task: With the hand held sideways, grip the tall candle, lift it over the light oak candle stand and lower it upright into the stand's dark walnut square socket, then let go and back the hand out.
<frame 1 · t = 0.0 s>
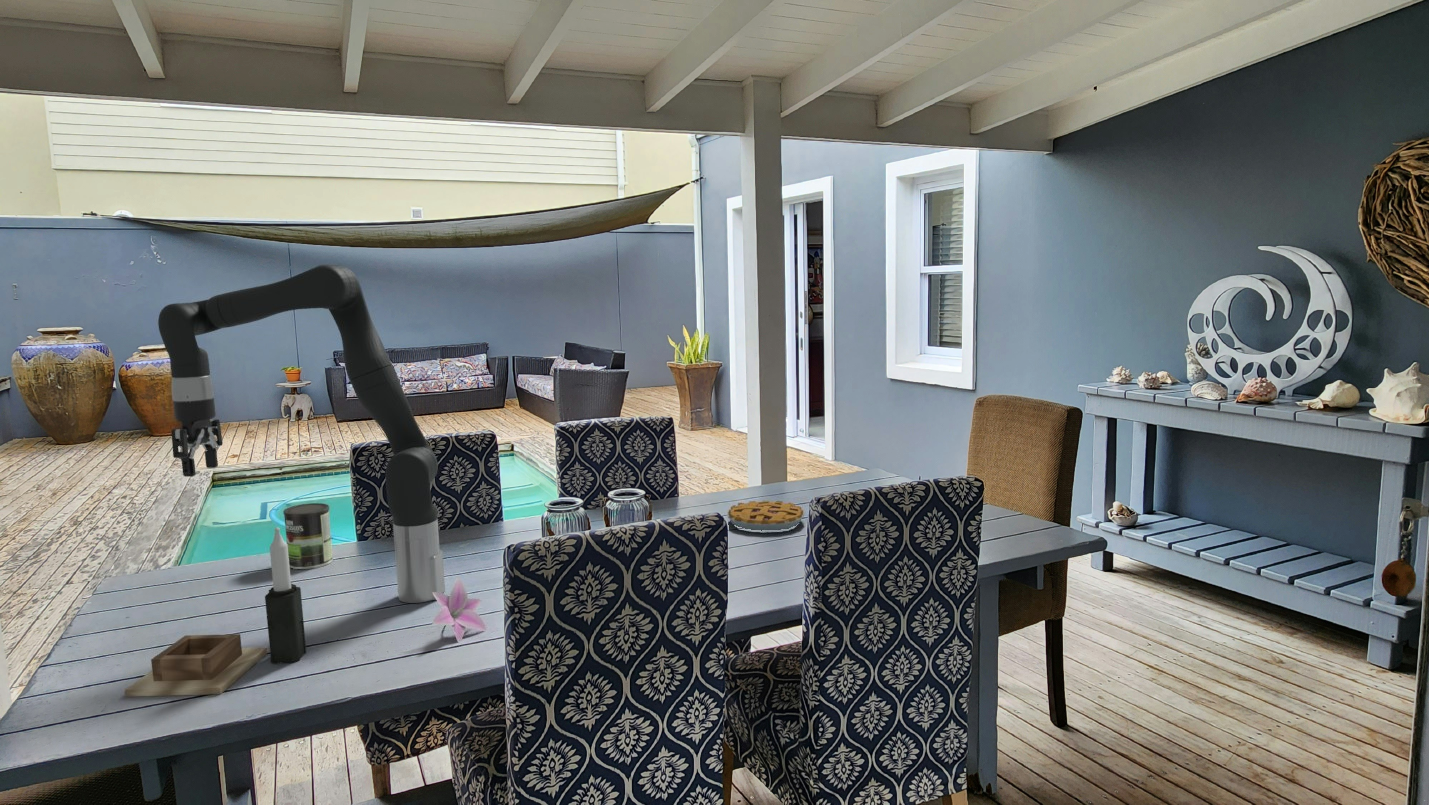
hand: (201, 471, 184), 29 cm above the table, tool pointing down, fingers open, 8 cm apart
candle stand: (200, 673, 153), on the table
coffee can: (311, 563, 213), on the table
pie: (765, 525, 241), on the table
candle: (289, 658, 159), on the table
lily: (458, 634, 169), on the table
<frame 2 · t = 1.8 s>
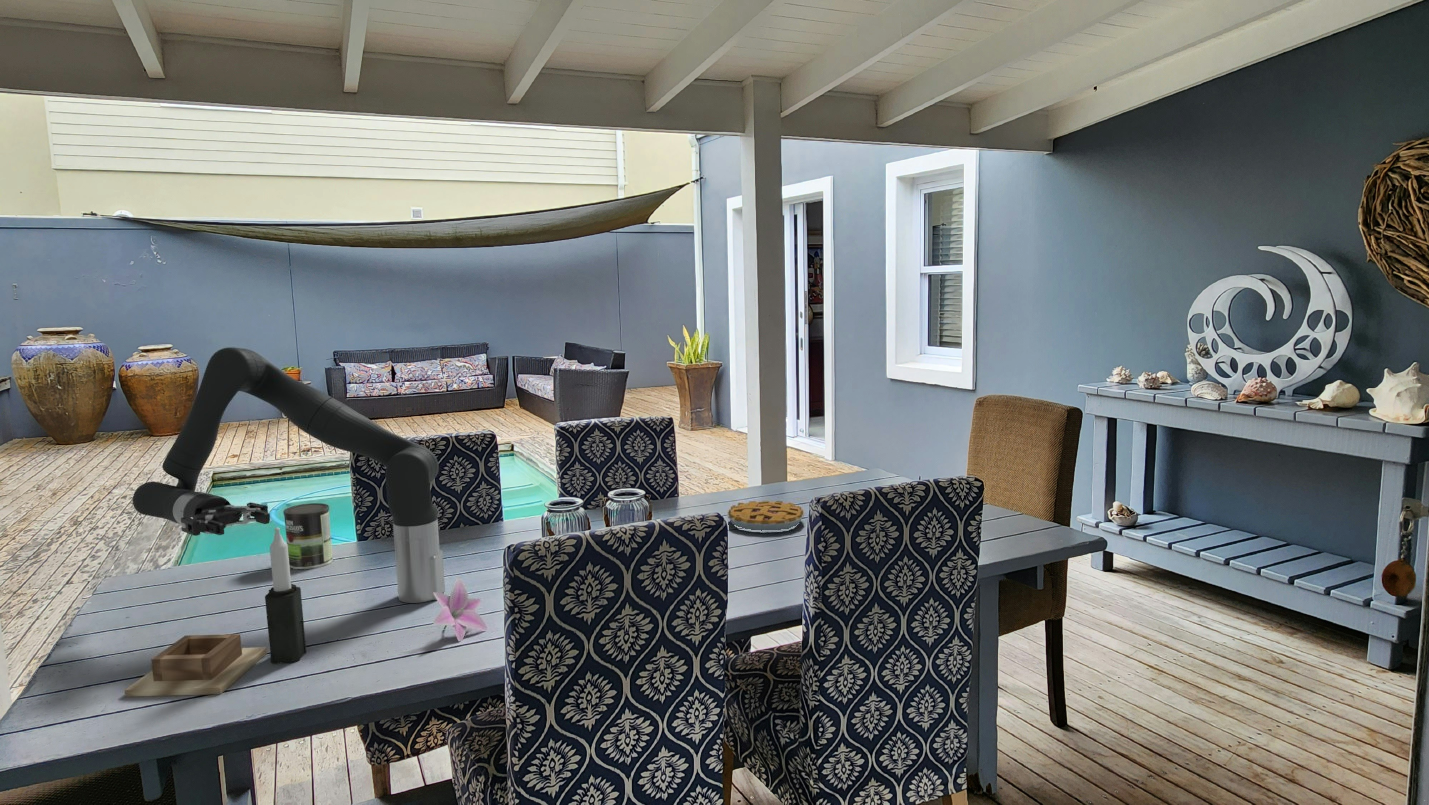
hand: (245, 523, 162), 24 cm above the table, tool horizontal, fingers open, 8 cm apart
nothing on the table moved.
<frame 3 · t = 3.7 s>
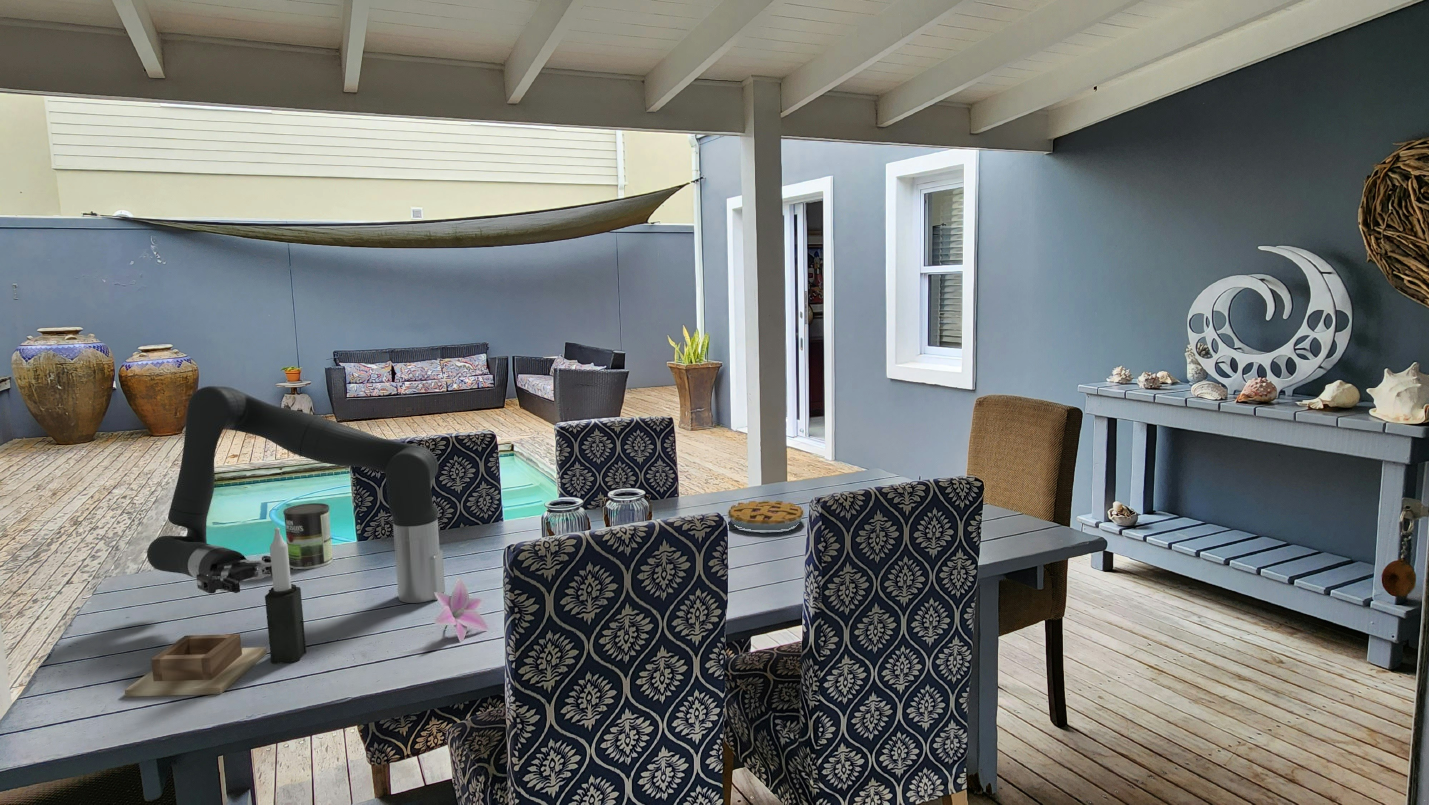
hand: (261, 580, 161), 13 cm above the table, tool horizontal, fingers open, 8 cm apart
nothing on the table moved.
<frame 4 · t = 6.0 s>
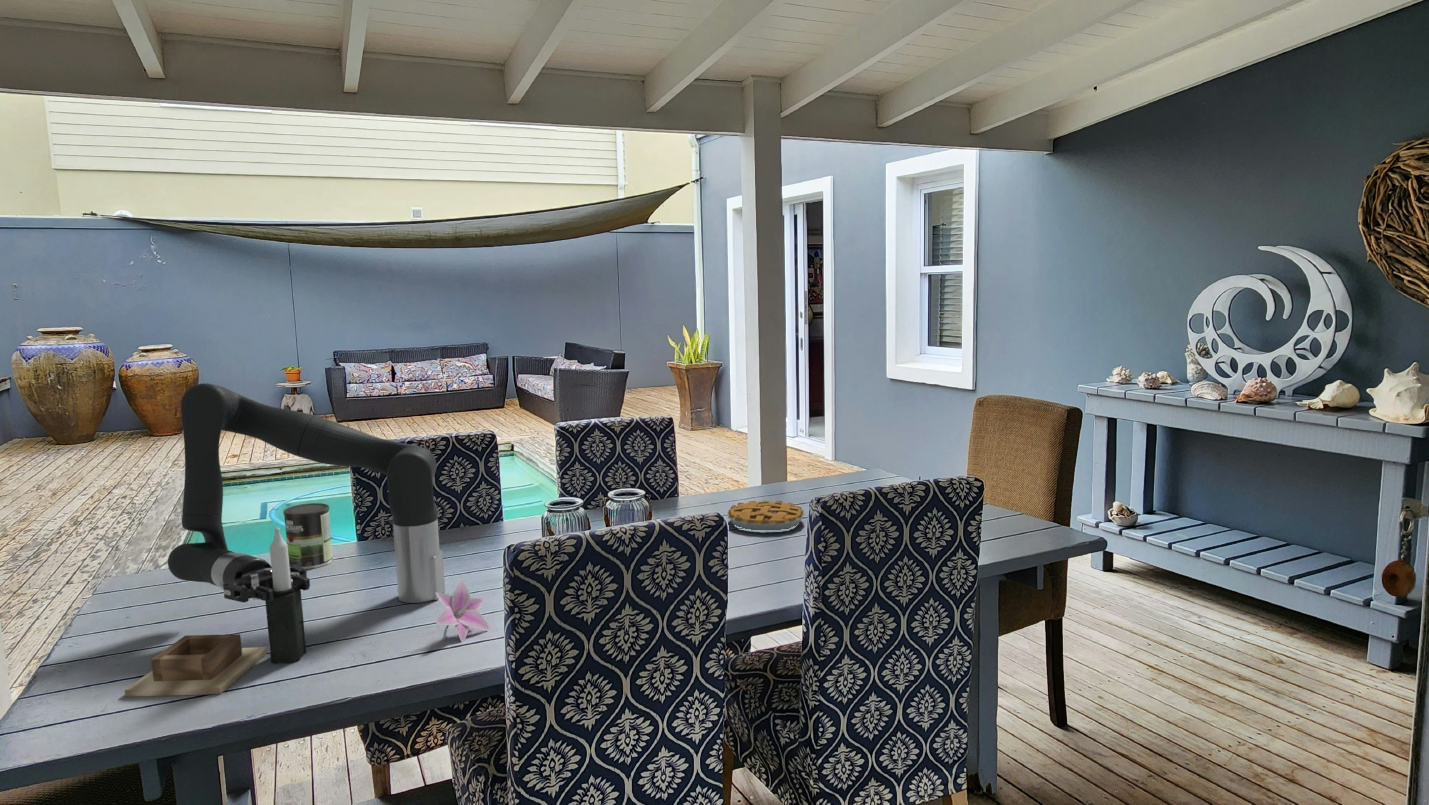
hand: (289, 590, 156), 14 cm above the table, tool horizontal, fingers closed on candle, 6 cm apart
candle: (289, 658, 159), on the table, touching gripper
everything else where it was.
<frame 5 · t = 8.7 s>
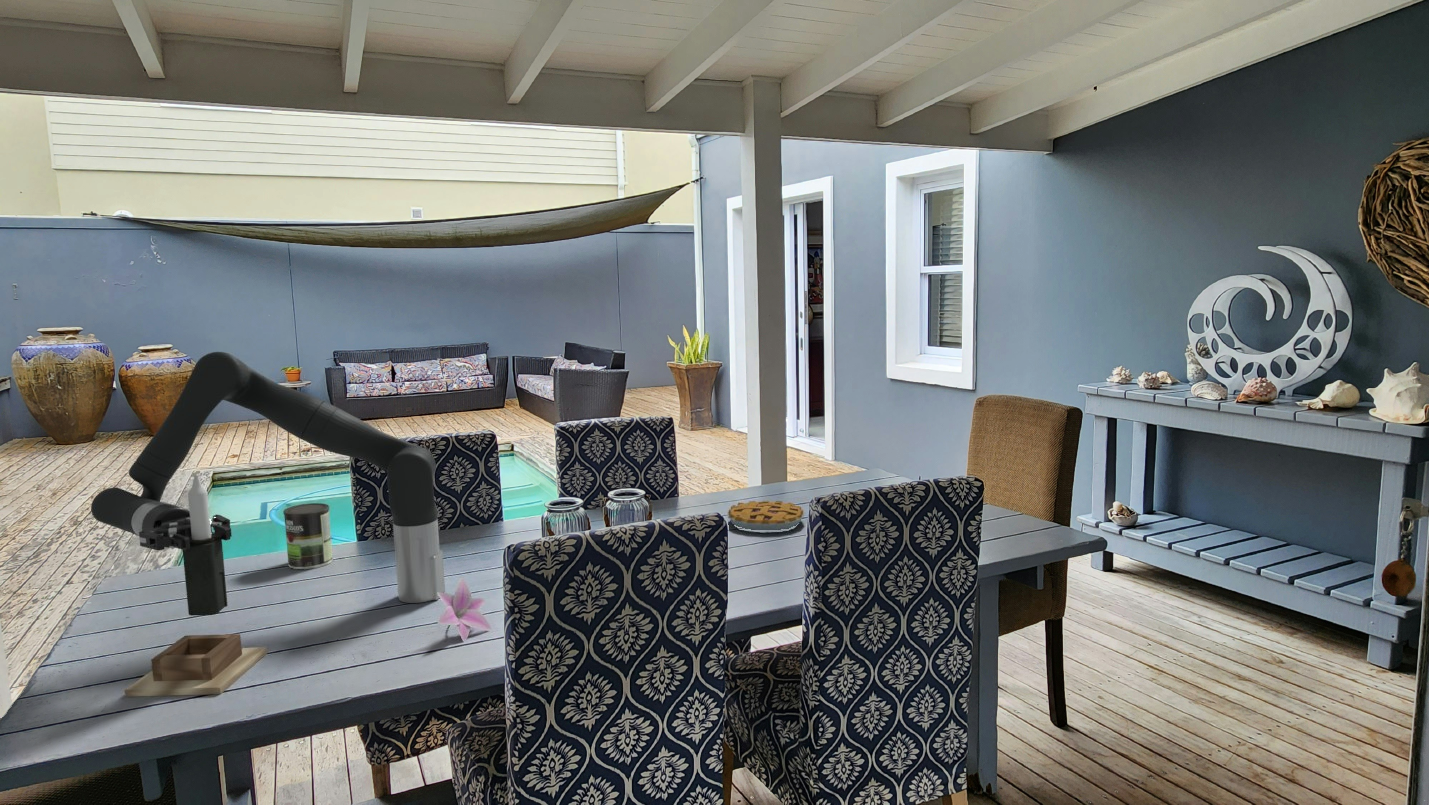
hand: (208, 539, 149), 25 cm above the table, tool horizontal, fingers closed on candle, 6 cm apart
candle: (208, 610, 153), point 11 cm above the table, touching gripper
everything else where it was.
when the fingers open (16 cm above the table, at t = 11.7 s): candle stays where it is, resting on candle stand.
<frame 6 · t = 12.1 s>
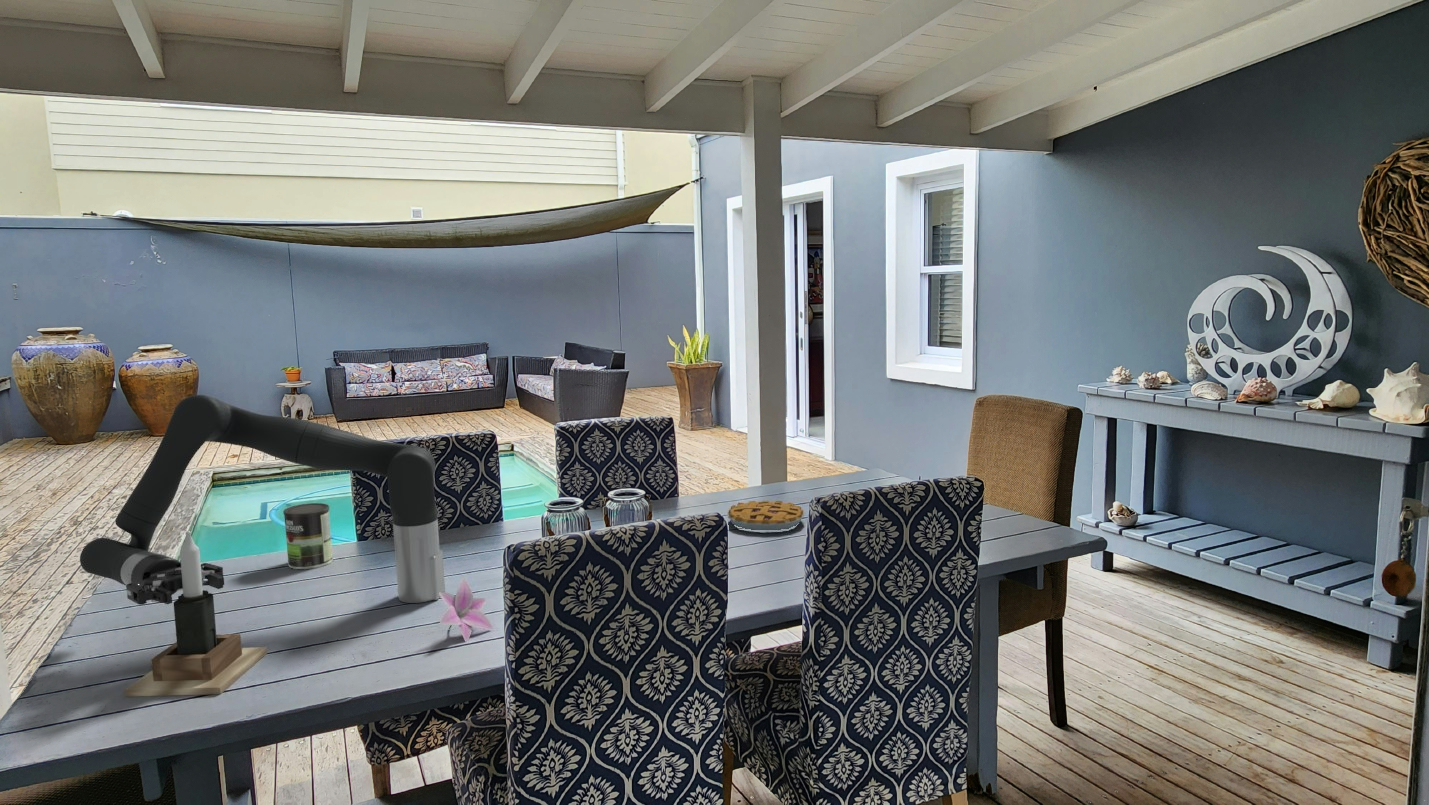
hand: (196, 590, 150), 16 cm above the table, tool horizontal, fingers open, 8 cm apart
candle: (199, 667, 153), point 1 cm above the table, touching candle stand
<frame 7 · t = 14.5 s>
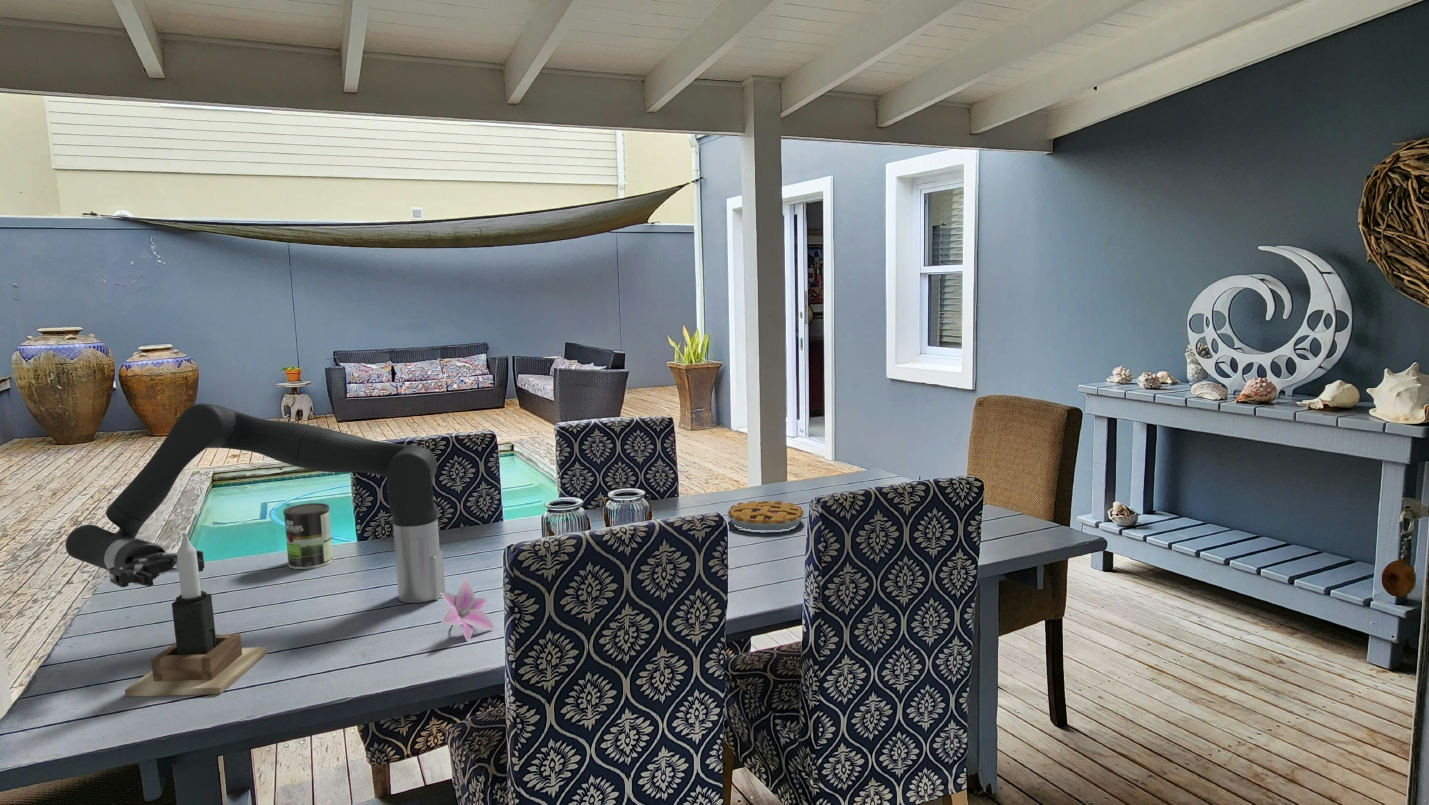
hand: (176, 573, 155), 17 cm above the table, tool horizontal, fingers open, 8 cm apart
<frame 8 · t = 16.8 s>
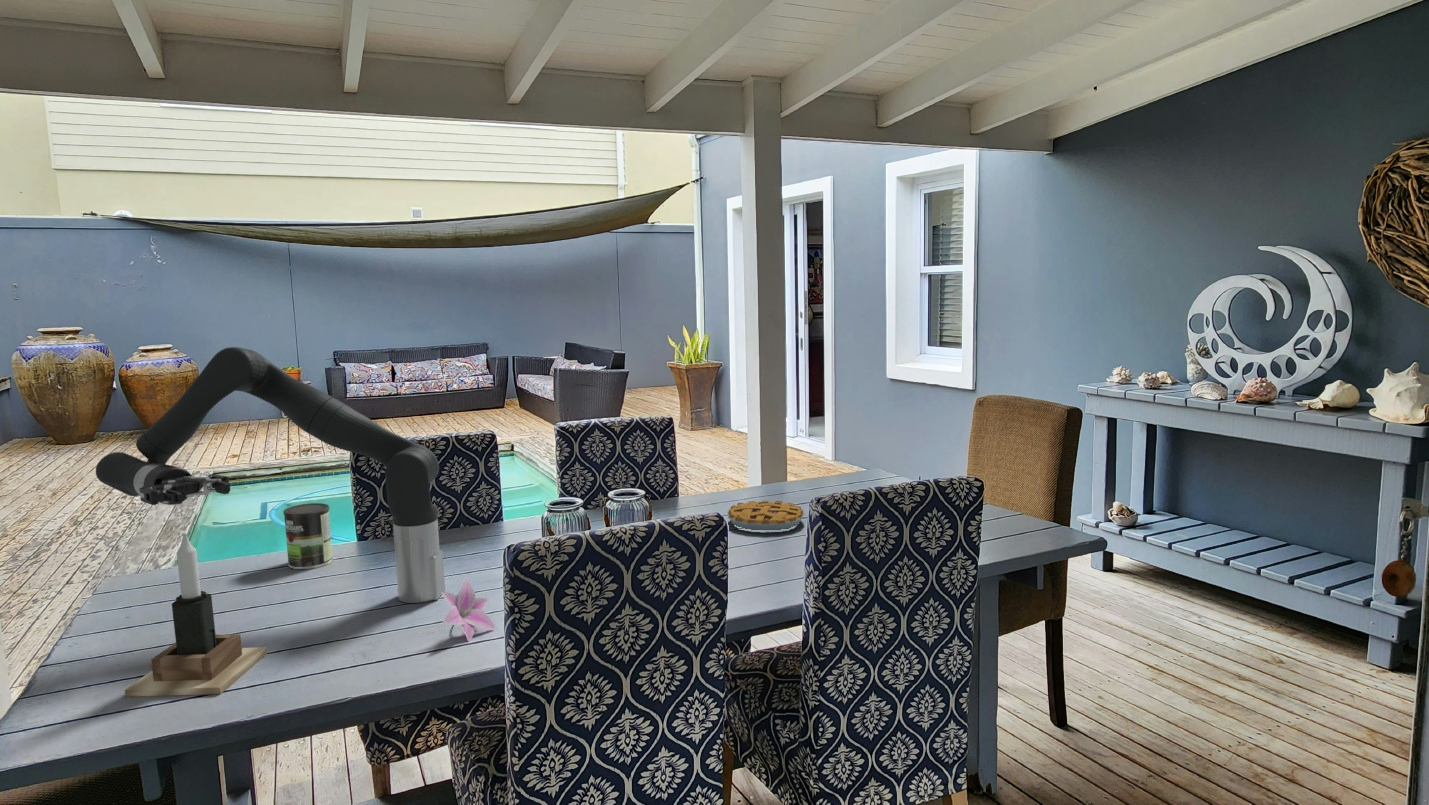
hand: (204, 493, 161), 30 cm above the table, tool horizontal, fingers open, 8 cm apart
at the end: candle 0.2 cm off-centre on the candle stand, point 1.0 cm above the candle stand's base; candle tilted 0°; the gripper is holding nothing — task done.
